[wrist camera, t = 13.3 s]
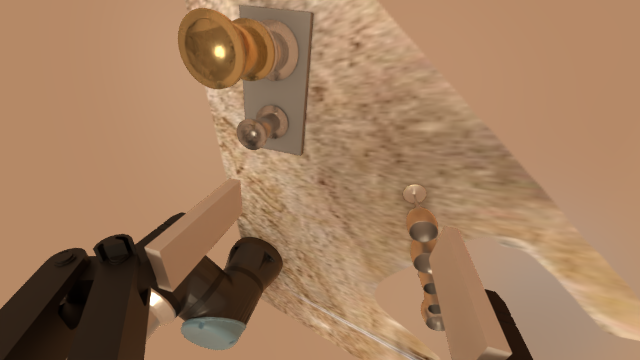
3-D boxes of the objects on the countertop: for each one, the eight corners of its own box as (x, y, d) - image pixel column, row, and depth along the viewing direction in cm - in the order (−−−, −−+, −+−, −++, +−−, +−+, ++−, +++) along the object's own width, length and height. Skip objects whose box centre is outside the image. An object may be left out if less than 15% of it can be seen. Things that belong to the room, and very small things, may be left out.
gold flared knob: (275, 83, 34) (244, 93, 27) (227, 76, 35) (185, 84, 28) (275, 21, 30) (240, 11, 23) (222, 15, 32) (171, 4, 24)
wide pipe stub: (297, 83, 41) (280, 89, 34) (250, 76, 43) (224, 81, 36) (300, 22, 37) (282, 15, 30) (248, 17, 38) (218, 8, 31)
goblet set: (397, 186, 48) (402, 227, 36) (428, 181, 46) (443, 223, 34) (417, 282, 58) (425, 338, 47) (442, 282, 56) (457, 340, 45)
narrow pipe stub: (288, 140, 47) (269, 157, 39) (258, 134, 48) (234, 149, 40) (289, 107, 44) (269, 118, 36) (257, 102, 45) (231, 112, 37)
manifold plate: (302, 153, 49) (300, 155, 48) (249, 142, 51) (246, 145, 49) (313, 13, 37) (310, 12, 36) (243, 6, 39) (239, 5, 38)
